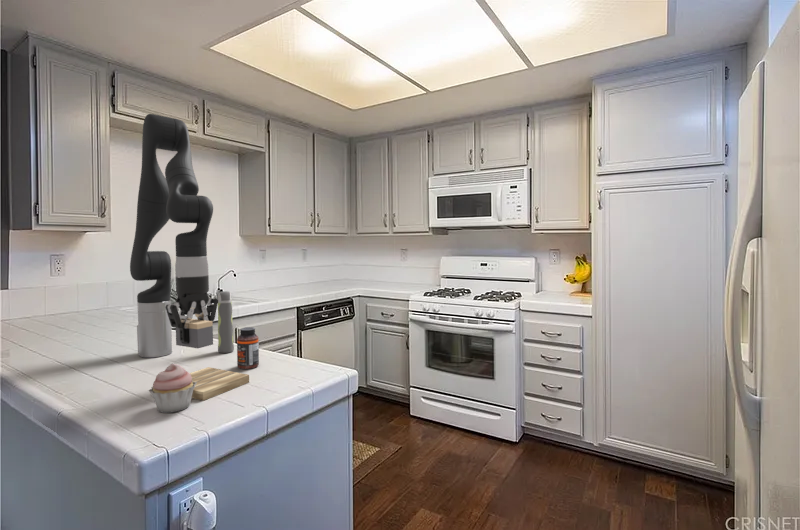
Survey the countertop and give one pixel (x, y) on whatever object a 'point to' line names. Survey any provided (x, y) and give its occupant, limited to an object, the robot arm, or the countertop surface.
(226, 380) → the slatted wooden trivet
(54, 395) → the countertop surface
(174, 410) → the cupcake
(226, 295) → the grey water bottle
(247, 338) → the supplement bottle
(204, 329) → the block
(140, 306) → the robot arm
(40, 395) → the countertop surface
